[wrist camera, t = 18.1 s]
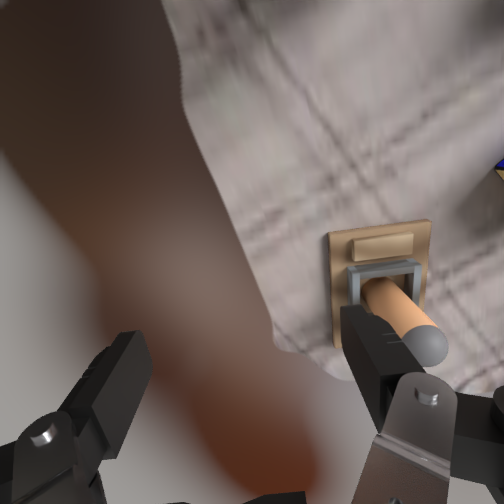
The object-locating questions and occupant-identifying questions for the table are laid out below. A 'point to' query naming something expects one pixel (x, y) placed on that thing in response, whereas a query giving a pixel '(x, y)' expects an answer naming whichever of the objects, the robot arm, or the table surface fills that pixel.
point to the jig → (377, 263)
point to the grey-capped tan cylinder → (406, 320)
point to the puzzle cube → (500, 169)
